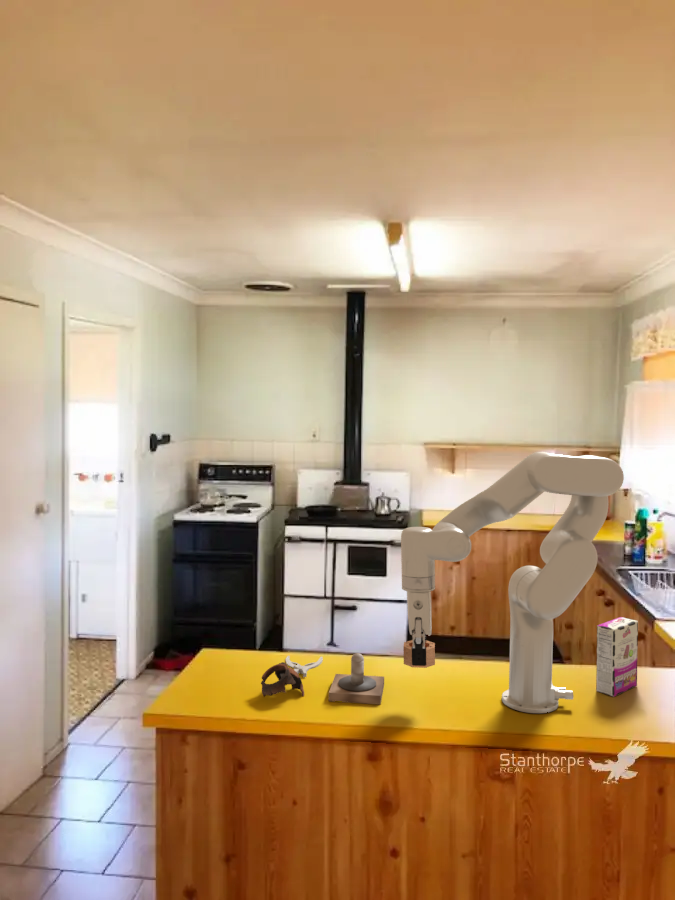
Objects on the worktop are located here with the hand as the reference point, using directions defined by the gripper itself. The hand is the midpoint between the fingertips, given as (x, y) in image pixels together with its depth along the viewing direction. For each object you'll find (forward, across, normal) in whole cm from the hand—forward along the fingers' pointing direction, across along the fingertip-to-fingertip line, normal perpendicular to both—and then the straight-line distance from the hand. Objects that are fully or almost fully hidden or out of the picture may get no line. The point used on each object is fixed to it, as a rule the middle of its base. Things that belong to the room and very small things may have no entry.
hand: (419, 658), depth 164 cm
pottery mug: (+10, +2, +32) cm, 34 cm away
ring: (+1, 0, 0) cm, 1 cm away
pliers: (+11, +20, +31) cm, 38 cm away
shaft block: (+10, +5, +15) cm, 19 cm away
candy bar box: (+12, +17, -47) cm, 51 cm away
